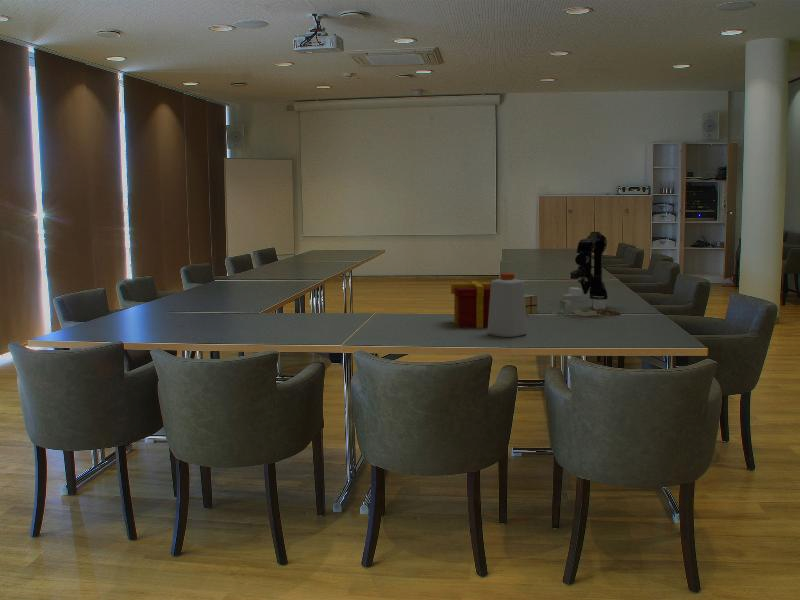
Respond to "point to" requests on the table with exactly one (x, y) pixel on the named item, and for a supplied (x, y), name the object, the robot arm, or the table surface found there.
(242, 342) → the table surface
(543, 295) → the table surface
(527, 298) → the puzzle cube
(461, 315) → the gift box
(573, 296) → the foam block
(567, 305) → the block
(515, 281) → the plastic bottle
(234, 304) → the table surface
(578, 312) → the button console
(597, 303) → the block
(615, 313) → the pallet board
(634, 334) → the table surface
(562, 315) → the tray
